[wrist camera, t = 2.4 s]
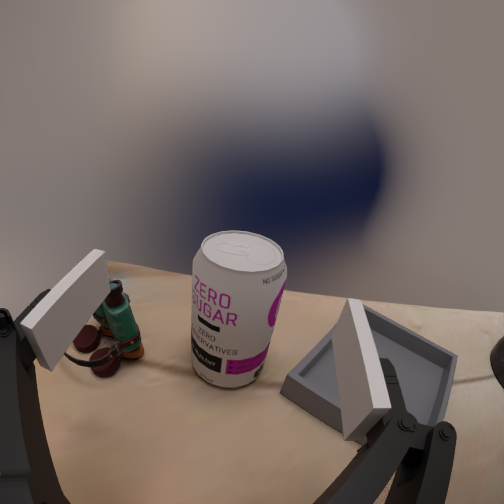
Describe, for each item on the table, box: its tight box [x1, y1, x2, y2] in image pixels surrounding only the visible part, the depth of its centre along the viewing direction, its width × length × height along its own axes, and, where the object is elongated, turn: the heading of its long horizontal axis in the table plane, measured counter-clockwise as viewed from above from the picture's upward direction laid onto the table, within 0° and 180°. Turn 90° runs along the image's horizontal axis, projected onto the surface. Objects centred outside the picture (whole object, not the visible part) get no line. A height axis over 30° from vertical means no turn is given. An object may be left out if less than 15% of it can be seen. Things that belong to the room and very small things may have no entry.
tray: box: [280, 304, 457, 445], centre depth 29 cm, size 18×18×4 cm
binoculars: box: [64, 279, 144, 377], centre depth 27 cm, size 9×11×10 cm
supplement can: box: [191, 231, 287, 388], centre depth 28 cm, size 8×8×15 cm
